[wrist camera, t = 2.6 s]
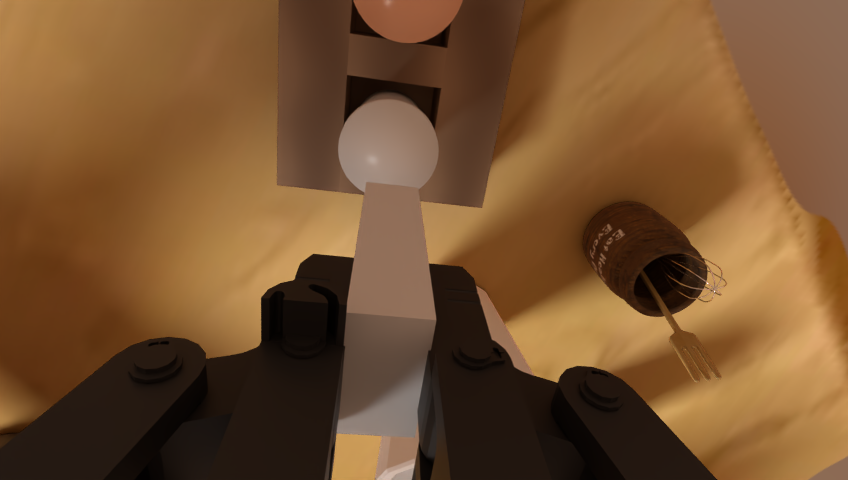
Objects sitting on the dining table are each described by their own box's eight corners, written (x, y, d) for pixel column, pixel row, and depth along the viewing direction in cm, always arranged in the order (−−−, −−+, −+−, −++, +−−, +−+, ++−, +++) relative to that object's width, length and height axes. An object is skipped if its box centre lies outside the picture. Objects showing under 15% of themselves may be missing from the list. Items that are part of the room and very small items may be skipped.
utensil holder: (662, 192, 34) (786, 276, 23) (654, 268, 37) (761, 374, 26) (581, 203, 34) (667, 292, 23) (578, 278, 37) (655, 388, 26)
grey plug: (346, 158, 28) (335, 193, 23) (352, 76, 26) (341, 93, 21) (423, 167, 28) (430, 203, 23) (435, 88, 26) (445, 107, 21)
